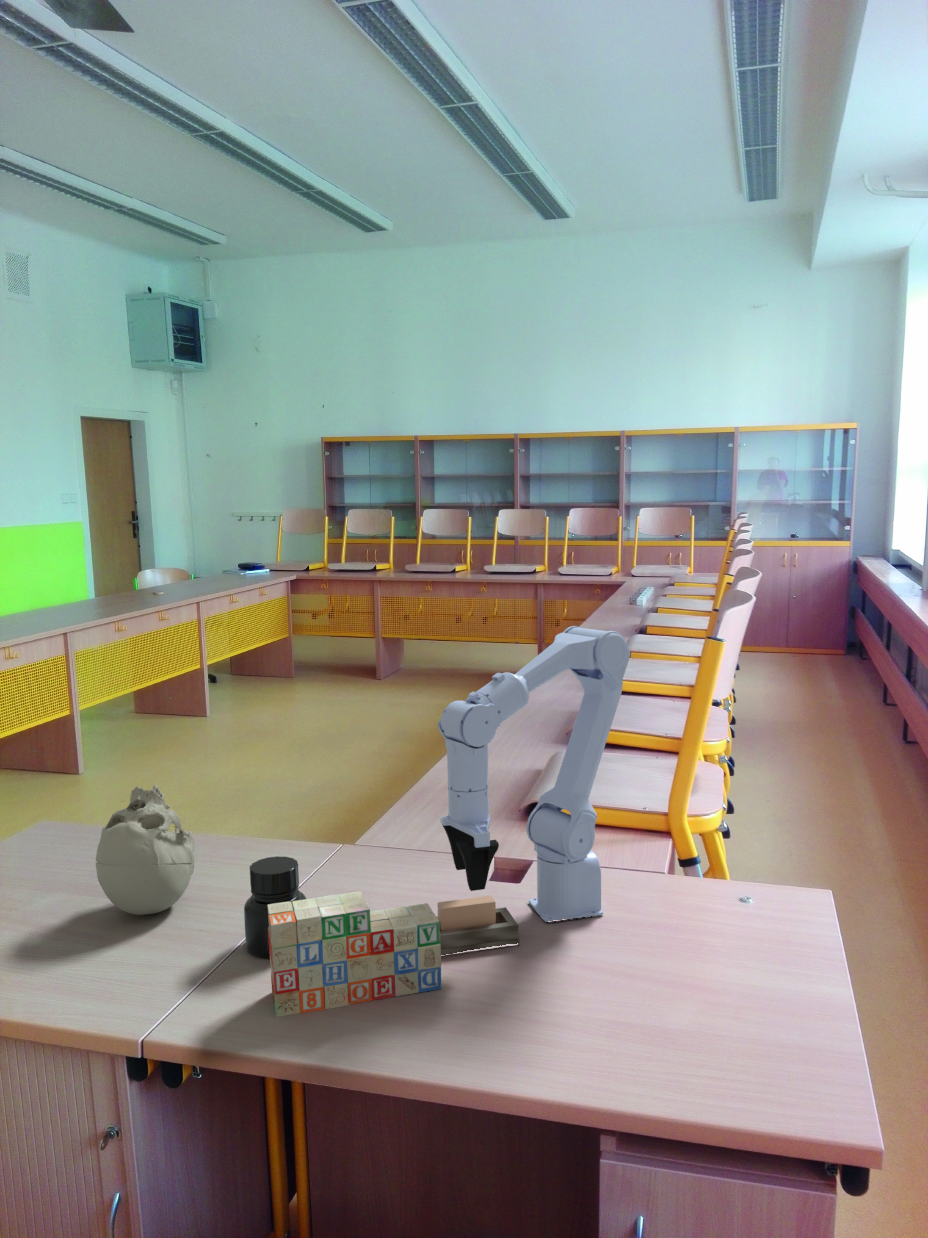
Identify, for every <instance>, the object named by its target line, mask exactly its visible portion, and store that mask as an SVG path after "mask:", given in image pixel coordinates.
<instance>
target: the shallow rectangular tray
mask: <svg viewBox="0 0 928 1238" xmlns="http://www.w3.org/2000/svg"><path fill="white" fill-rule="evenodd" d="M436 917H437V919H438V915H437V916H436ZM517 943H519V944H520V939H519V924H518V922H517V921H516V920H515V918H514V917H513V915H512V914H511V912H510V911H509V910H508V909H507V907H500V908H496V924H492V925H484V926H477V927H470V928H462V929H455V930H448V931H440V945H441V955H446V954H453V953H457V952H463V951H467V950H474V949H480V948H486V947H492V946H500V945H501V946H502V945H506V944H517Z"/></svg>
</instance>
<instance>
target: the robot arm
mask: <svg viewBox="0 0 928 1238" xmlns="http://www.w3.org/2000/svg"><path fill="white" fill-rule="evenodd" d="M630 658H631V651H630V649H629V646H628V644H627V641H626V640H625V637H624V636H623V635H622V634H621V633H620V632H618V631H615V630H608V631H607V630H602V629H601V630H599V629H593V628H586V627H585V628H584V627H581V626H578V625H572V626H569V627H566V629H564V630H563V632H560V633H558V634H556V635H555V637H554V640H553V643H551V644H550V645H548V647H546V648H545V649H544V650H543V651H542V652H540V653H539V654H538V655H536V656H535V657H534V658H533V659H532V660H530V662H528V663H526V664H525V666H523V667H521V668H520V669H519V670H518V671H517V672H516V673H511V672H507V671H505V672H503V673H502V672H497V673H495V674H493V675H492V676H491V679H492V680H491V681H489V682H488V683H487V684H485V685H484V686H483V687H481V688H480V689H478V690H476V691H471V692H470V693H468V696H467V698H465V700H455V701H452V702H450V703H449V704H448V705H447V706H446V707H445V708H444V710H443V711H442V713H441V715H440V720H439V721H437V728H438V731H439V733H440V734H441V736H442V737H443V738H444V742H445V745H444V746H445V749H446V759H447V799H448V802H447V803H448V804H447V805H448V806H447V807H448V808H447V809H448V813H447V815H446V816H441V817H440V818H439V819H440V824H441V825H442V827H443V830H444V831H445V833H446V835H447V838H448V843H449V845H450V850H451V854H452V859H453V863H454V866H455V869H456V871H461V870H465V874H466V875H465V876H466V881H467V885H468V890H470V892H474V891H481V890H482V891H483V890H485V889H486V886H487V881H488V876H489V873H490V868H491V864H492V861H493V859H494V857H495V855H496V853H497V852H498V849H499V847H500V845H499V842H498V841H497V840H496V839H491V835H490V831H489V829H490V825H491V824H490V823H491V815H490V811H489V809H490V807H489V806H490V801H489V757H488V756H489V755H488V754H489V752H488V751H489V750H488V748H489V747H488V746H489V745H488V744H489V743H491V741H492V740H493V739H494V737H495V735H496V731H497V729H498V728H499V727H500V726H501V724H502V723H504V722H505V721H506V720H508V719H509V718H510V717H512V716H513V715H515V714H516V713H517V712H518V711H520V710H521V709H523V708H524V707H526V706H527V704H528V702H529V697H530V693H531V692H533V691H535V690H536V689H538V688H539V687H541V686H543V685H544V684H546V683H547V682H548V681H550V680H552V679H554V678H555V677H557V676H558V675H560V674H562V673H563V672H565V671H566V670H570V672H571V673H572V674H573V676H575V678H576V679H577V680H578V681H579V682H580V684H581V687H582V688H583V692H584V693H583V697H582V700H581V703H580V706H579V709H578V712H577V714H576V715H577V716H576V718H575V722H574V724H573V728H572V731H571V734H570V737H569V740H568V743H567V747H566V750H565V752H564V756H563V759H562V762H561V766H560V768H559V771H558V774H557V777H556V780H555V781H556V782H555V784H554V787H553V788H551V789H549V790H547V791H545V792H544V793H542V794H541V795H539V798H538V802H537V804H536V806H535V807H534V808H533V810H532V811H531V812H530V814H529V816H528V818H527V822H526V826H525V827H526V828H525V830H526V834H527V835H526V836H527V838H528V839H529V841H530V842H532V843H533V844H534V847H533V849H534V851H535V852H536V881H537V882H536V886H537V889H536V891H537V892H536V893H537V895H536V896H537V897H533V898H529V899H528V903H529V905H530V906H531V907H532V908H533V910H534V911H535V912H536V914H537V915H538V916H539V915H540V916H539V917H540V918H541V919H543V920H544V921H545V922H544V921H543V920H542V921H543V922H544V923H546V922H548V921H553V920H562V919H570V920H574V919H573V918H578V919H582V917H585V918H590V917H591V916H592V917H598V915H599V916H603V915H604V911H603V910H602V869H601V865H600V860H599V857H598V856H597V855H596V853H595V851H593V850H592V848H593V846H594V844H595V843H594V842H595V837H596V831H595V828H596V823H597V819H598V814H597V812H596V811H595V809H594V807H593V805H592V804H591V801H590V799H589V797H590V795H591V791H592V788H593V784H594V782H595V779H596V776H597V773H598V770H599V765H600V763H601V759H602V757H603V753H604V750H605V747H606V744H607V741H608V738H609V734H610V731H611V728H612V725H613V721H614V718H615V714H616V712H617V710H618V709H617V708H618V706H619V702H620V699H621V696H622V694H623V693H622V690H623V688H624V687H623V685H624V676H625V673H626V670H627V666H628V664H629V660H630ZM563 810H566V811H567V812H569V813H567V812H565V811H563ZM602 914H603V915H602ZM579 917H580V918H579ZM592 917H591V918H592ZM571 918H572V919H571Z"/></svg>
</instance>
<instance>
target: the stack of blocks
mask: <svg viewBox="0 0 928 1238" xmlns="http://www.w3.org/2000/svg"><path fill="white" fill-rule="evenodd" d="M370 909H371V908H370V907H369V904H368V903H367V901H366V900H365V898H364V896H363V894H362V891H359V890H358V891H353V892H352V891H351V892H346V893H339V894H330V895H324V896H319V897H313V898H306V899H305V900H298V901H292V902H291V901H290V902H282V903H274V904H269V905H268V921H269V927H268V940H269V951H270V958H269V962H270V963H269V964H270V980H271V993H272V994H271V995H272V1001H273V1005H274V1013H275V1017H284V1016H289V1015H295V1014H296V1015H297V1014H305V1013H312V1012H317V1011H321V1010H328V1009H335V1008H341V1007H345V1006H346V1007H347V1006H349V1005H350V1006H351V1005H354V1004H360V1003H366V1002H371V1001H377V1000H382V999H387V998H394V997H400V996H407V995H413V994H418V993H423V992H424V993H425V992H430V991H431V992H432V991H435V990H440V989H442V957H441V945H440V925H439V920H438V919H437V916H436V914H435V912H434V911H433V909H432V908H431V906H430V904H429V903H428V902H427V903H421V904H413V905H408V906H406V905H405V906H398V907H391V908H385V909H378V910H377V909H376V910H370Z"/></svg>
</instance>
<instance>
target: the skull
mask: <svg viewBox="0 0 928 1238" xmlns="http://www.w3.org/2000/svg"><path fill="white" fill-rule="evenodd" d="M165 798H166V796H165V794H164V793H163V792H162V791H161V790H160V788H158V785H157V784H154V785H153V786H152V789H150V790H149V789H147V790H146V789H143V788H142V787H140V786H138V785H136V786H135V787H134V788H133V789H132V790H131V791H130V798H129V804H128V806H127V807H125V808H121V809H118V810H116V811H115V812H114V813H113V814H112V815H111V817H110V818H109V820H108V822H107V824H106V825H105V826H104V827H102V830H101V834H100V835H101V836H100V838H99V843H98V846H97V849H96V854H95V855H96V856H95V870H96V877H97V881H98V883H99V885H100V887H101V889H102V891H103V893H104V895H105V896H106V897H107V899H108V900H109V901H110V902H111V903H112V904H113V905H114V906H115V907H116V908H118V909H119V910H121V911H123V912H125V913H128V914H133V915H135V916H142V915H154V914H158V913H161V912H163V911H166V910H167V909H169V908H171V907H172V906H174V904H176V903H177V902H178V901H179V900H180V899H181V897H182V896H183V895H184V893H185V892H186V890H187V888H188V886H189V884H190V881H191V878H192V874H194V873H193V872H194V869H195V838H194V836H193V833H192V831H191V830H187V831H185V830H184V828H183V826H182V822H181V818H180V816H179V815H178V814H177V812H176V811H175V810H173V809H171V807H170V804H165ZM171 824H173V825H174V826H173V828H175V830H174V832H172V831H169V830H170V827H171Z"/></svg>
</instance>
